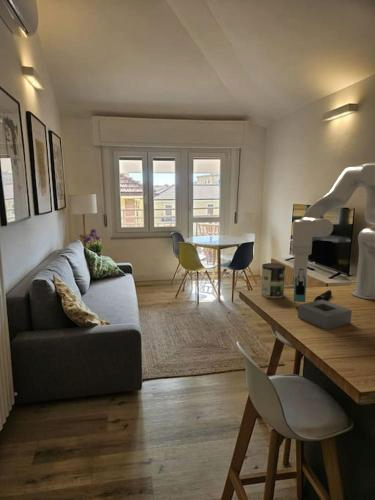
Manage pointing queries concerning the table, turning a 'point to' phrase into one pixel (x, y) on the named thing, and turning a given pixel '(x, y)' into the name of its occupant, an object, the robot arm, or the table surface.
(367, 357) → the table surface
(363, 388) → the table surface
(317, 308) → the socket
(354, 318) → the table surface
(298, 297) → the peg
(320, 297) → the electric trimmer
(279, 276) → the coffee can
